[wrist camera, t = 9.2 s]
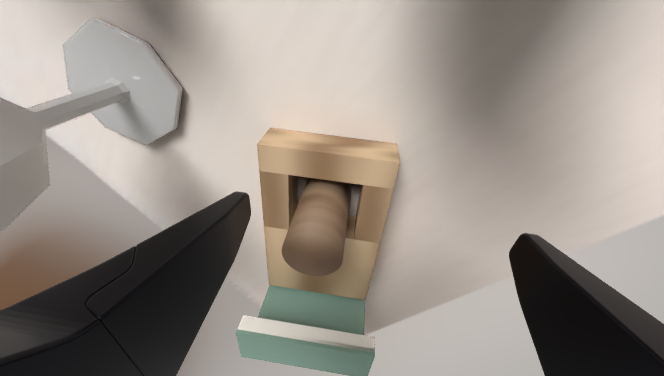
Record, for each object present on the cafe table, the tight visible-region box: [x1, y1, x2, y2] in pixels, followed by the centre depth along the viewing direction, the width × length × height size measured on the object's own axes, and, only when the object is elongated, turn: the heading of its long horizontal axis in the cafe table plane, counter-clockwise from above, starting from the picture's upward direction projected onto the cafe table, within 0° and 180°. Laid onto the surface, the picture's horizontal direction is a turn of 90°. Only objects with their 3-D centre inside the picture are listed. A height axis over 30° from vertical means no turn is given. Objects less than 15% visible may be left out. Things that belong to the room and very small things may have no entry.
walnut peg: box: [282, 178, 351, 276], centre depth 21 cm, size 4×4×8 cm
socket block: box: [257, 128, 400, 300], centre depth 25 cm, size 10×16×3 cm, turn 175°
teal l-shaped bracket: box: [236, 285, 375, 376], centre depth 26 cm, size 11×4×9 cm, turn 85°
